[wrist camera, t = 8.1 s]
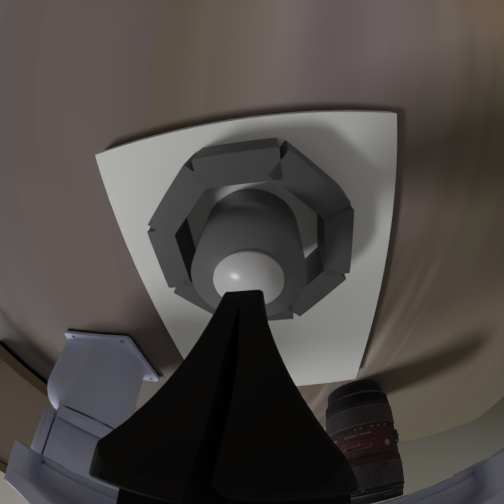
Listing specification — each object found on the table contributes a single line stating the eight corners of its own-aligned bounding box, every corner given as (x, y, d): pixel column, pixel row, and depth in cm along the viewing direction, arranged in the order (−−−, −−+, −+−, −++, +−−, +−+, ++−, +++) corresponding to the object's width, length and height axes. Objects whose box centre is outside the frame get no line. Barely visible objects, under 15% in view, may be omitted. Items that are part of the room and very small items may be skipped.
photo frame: (0, 339, 30) (-46, 442, 10) (84, 405, 40) (56, 503, 20) (-7, 349, 35) (-44, 431, 14) (60, 405, 45) (36, 484, 24)
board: (202, 380, 27) (198, 405, 24) (103, 150, 13) (72, 167, 11) (353, 370, 25) (358, 396, 22) (388, 111, 11) (418, 120, 9)
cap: (216, 271, 17) (205, 323, 13) (197, 195, 14) (176, 237, 10) (299, 264, 16) (307, 317, 13) (295, 184, 13) (307, 224, 10)
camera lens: (349, 373, 25) (367, 506, 13) (397, 379, 27) (420, 488, 14) (308, 403, 29) (313, 513, 17) (356, 407, 31) (368, 502, 19)
